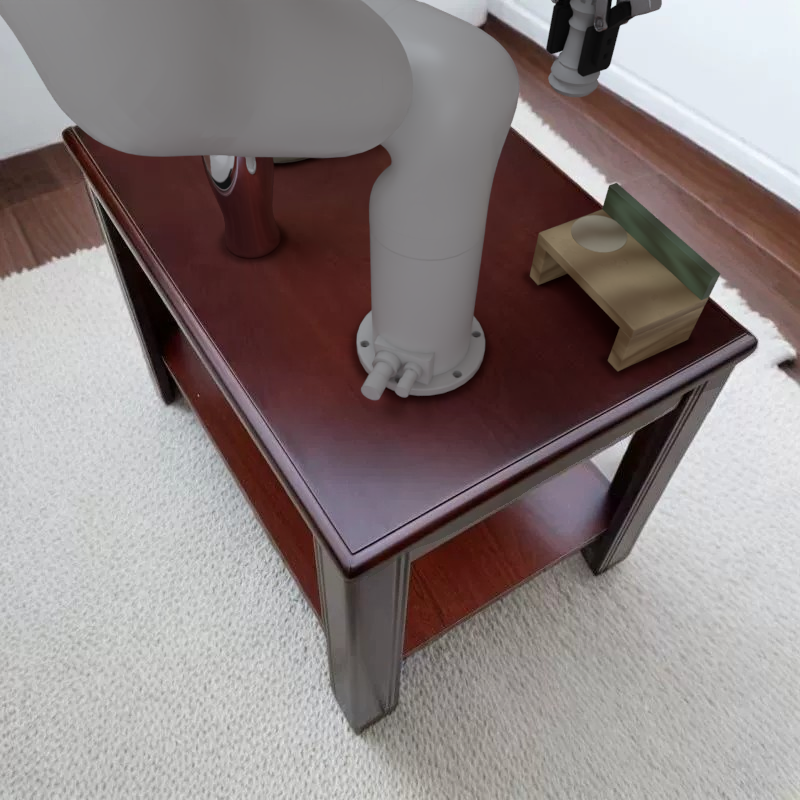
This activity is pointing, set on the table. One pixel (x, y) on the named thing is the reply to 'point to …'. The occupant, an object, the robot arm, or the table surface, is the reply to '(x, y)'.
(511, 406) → the table surface
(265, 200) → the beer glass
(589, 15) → the rook chess piece
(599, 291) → the shelf
